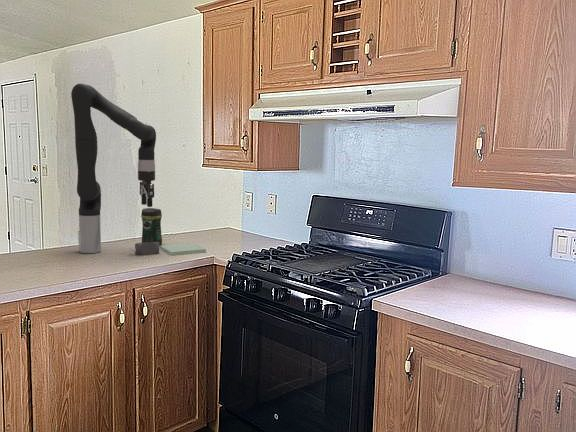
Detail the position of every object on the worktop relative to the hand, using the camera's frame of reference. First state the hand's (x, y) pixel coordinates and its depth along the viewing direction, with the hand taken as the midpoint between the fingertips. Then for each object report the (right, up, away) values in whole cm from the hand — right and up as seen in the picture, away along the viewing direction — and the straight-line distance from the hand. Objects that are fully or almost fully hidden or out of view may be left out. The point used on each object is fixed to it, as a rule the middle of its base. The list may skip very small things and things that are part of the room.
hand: (146, 205), depth 238 cm
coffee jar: (-4, -19, +23) cm, 30 cm away
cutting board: (+14, -21, +12) cm, 28 cm away
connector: (-2, -22, +2) cm, 22 cm away
